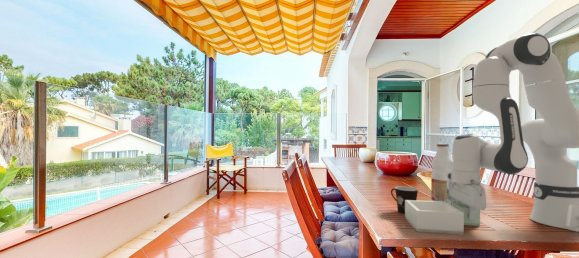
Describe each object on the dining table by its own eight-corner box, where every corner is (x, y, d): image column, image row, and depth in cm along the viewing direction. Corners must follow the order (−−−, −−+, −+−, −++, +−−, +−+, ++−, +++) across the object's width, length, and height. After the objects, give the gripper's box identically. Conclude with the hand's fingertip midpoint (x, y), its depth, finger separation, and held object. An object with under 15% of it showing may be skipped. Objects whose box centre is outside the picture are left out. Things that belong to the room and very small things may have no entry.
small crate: (470, 219, 102) (470, 204, 102) (480, 225, 96) (480, 208, 96) (452, 218, 103) (452, 203, 103) (460, 224, 97) (460, 208, 97)
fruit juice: (442, 208, 117) (442, 144, 117) (426, 203, 126) (426, 143, 126) (460, 207, 119) (460, 144, 119) (443, 202, 128) (443, 143, 128)
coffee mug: (421, 216, 106) (421, 190, 107) (400, 215, 106) (400, 190, 107) (408, 207, 118) (408, 184, 118) (389, 207, 118) (389, 184, 118)
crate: (444, 220, 102) (444, 201, 102) (463, 234, 88) (463, 213, 88) (404, 218, 104) (405, 199, 104) (417, 231, 90) (417, 210, 90)
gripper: (492, 183, 89) (492, 225, 89) (461, 173, 109) (461, 207, 109) (471, 182, 90) (471, 224, 90) (445, 173, 110) (445, 207, 110)
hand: (465, 215), depth 100 cm, fingers closed on small crate, 6 cm apart
